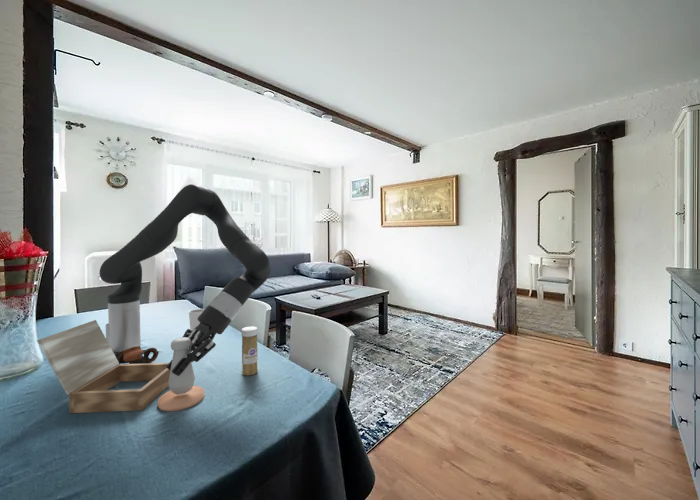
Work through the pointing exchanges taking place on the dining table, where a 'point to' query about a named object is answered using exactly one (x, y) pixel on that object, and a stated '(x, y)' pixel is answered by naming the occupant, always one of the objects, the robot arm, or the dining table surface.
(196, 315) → the drinking glass
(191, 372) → the salt shaker
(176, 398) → the terracotta saucer
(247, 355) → the sprinkles bottle
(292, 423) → the dining table surface
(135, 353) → the pottery mug
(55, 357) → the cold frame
